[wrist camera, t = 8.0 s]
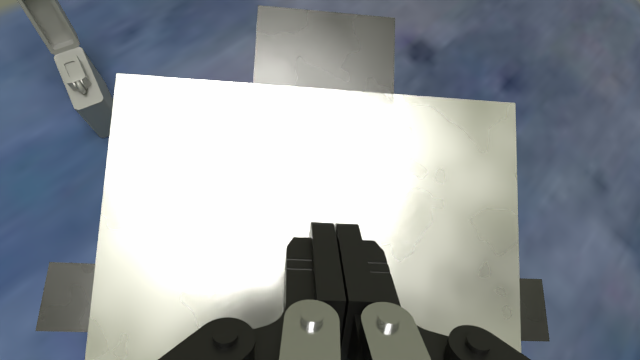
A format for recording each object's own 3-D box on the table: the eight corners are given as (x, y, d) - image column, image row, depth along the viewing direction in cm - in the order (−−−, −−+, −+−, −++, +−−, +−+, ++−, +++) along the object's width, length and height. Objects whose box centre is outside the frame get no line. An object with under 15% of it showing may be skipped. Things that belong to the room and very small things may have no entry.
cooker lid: (509, 508, 19) (525, 525, 18) (79, 515, 17) (65, 535, 16) (500, 40, 22) (513, 28, 21) (133, 7, 20) (125, -7, 19)
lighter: (125, 129, 31) (80, 67, 24) (100, 139, 31) (46, 78, 23) (90, 47, 33) (36, -35, 25) (65, 56, 32) (4, -26, 25)
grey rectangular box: (489, 462, 27) (601, 531, 18) (75, 465, 25) (-35, 546, 16) (467, 197, 33) (546, 147, 23) (122, 179, 30) (59, 116, 21)
